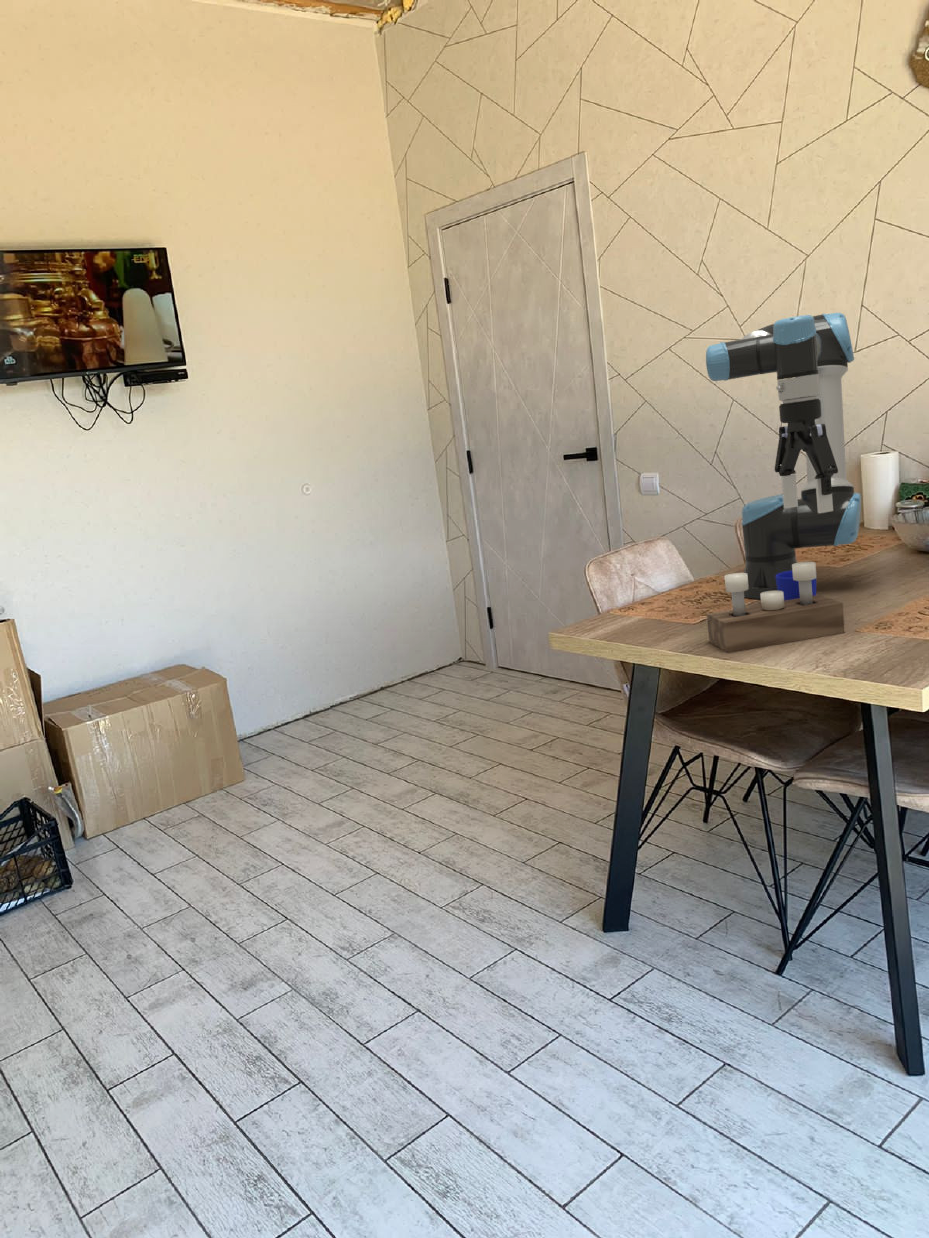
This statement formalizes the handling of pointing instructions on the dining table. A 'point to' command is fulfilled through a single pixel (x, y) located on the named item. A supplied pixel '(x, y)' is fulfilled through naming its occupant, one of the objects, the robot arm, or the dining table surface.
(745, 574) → the knob
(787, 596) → the mug
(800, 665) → the dining table surface
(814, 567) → the knob
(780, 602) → the knob
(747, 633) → the mount
